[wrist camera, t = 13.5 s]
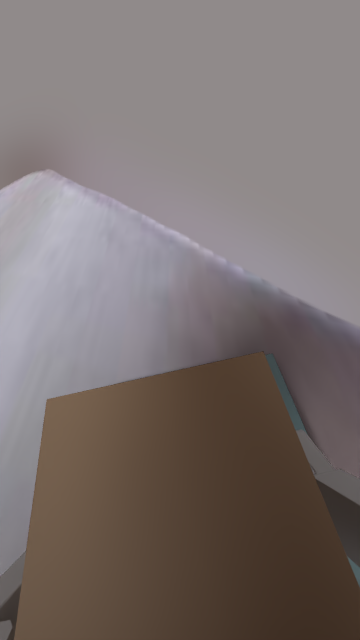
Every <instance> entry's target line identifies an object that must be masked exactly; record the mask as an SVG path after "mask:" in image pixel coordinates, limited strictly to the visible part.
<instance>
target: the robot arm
mask: <svg viewBox="0 0 360 640" xmlns="http://www.w3.org/2000/svg"><path fill="white" fill-rule="evenodd" d="M296 433H297V435H298V437H299V440H300V442H301V445H302V447H303V450H304V452H305V455H306V457H307V460H308V462H309V464H310V467H311V469H312V472H313V474H314V477H315V479H316V482H317V484H318V487H319V489H320V491H321V494H322V496H323V499H324V501H325V504H326V506H327V509H328V511H329V513H330V516H331V518H332V521H333V523H334V526H335V528H336V531H337V533H338V536H339V538H340V540H341V543H342V545H343V548H344V550H345V553H346V555H347V557H348V558H350V559H351V560H352V561H353V562H354V563H355V564H356V565H357V566H359V567H360V479H359V478H357V477H355V476H353V475H351V474H349V473H347V472H345V471H344V470H342V469H339V470H335V468H334V467H333V466H332V465H331V464H330V462H329V461H328V460H327V459H326V457H325V456H324V455H323V454H322V452H321V451H320V450H319V449H318V447H317V446H316V445H315V444H314V442H313V441H312V440H311V439H310V437H309V436H308V435H307V434H306V432H305V431H303V430H302V429H301V430H297V431H296ZM25 556H26V552H25V553H24V554H23V555H22V556H21V557H20V558H19V559H18V560H17V561H16V562H15V563H14V564H13V565H12V566H11V567H10V568H9V569H8V570H7V571H6V572H5V573H4V574H3V575H2V576H1V577H0V640H14V636H15V629H16V622H17V614H18V607H19V600H20V592H21V585H22V578H23V570H24V563H25Z"/></svg>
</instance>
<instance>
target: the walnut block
mask: <svg viewBox="0 0 360 640" xmlns="http://www.w3.org/2000/svg"><path fill="white" fill-rule="evenodd" d="M14 640H360V587H359V585H358V582H357V580H356V577H355V575H354V572H353V570H352V567H351V565H350V563H349V560H348V558H347V555H346V553H345V550H344V548H343V545H342V543H341V540H340V538H339V536H338V533H337V531H336V528H335V526H334V523H333V521H332V518H331V516H330V513H329V511H328V509H327V506H326V504H325V501H324V499H323V496H322V494H321V491H320V489H319V487H318V484H317V482H316V479H315V477H314V474H313V472H312V469H311V467H310V464H309V462H308V460H307V457H306V455H305V452H304V450H303V447H302V445H301V442H300V440H299V437H298V435H297V433H296V430H295V428H294V425H293V423H292V420H291V418H290V415H289V413H288V411H287V408H286V406H285V403H284V401H283V398H282V396H281V393H280V391H279V388H278V386H277V384H276V381H275V379H274V376H273V374H272V371H271V369H270V366H269V364H268V361H267V359H266V357H265V354H264V352H263V351H262V352H258V353H253V354H249V355H244V356H240V357H235V358H231V359H226V360H222V361H217V362H213V363H208V364H204V365H199V366H195V367H190V368H186V369H182V370H177V371H173V372H168V373H164V374H159V375H155V376H150V377H146V378H141V379H137V380H132V381H128V382H123V383H119V384H114V385H110V386H105V387H101V388H96V389H92V390H87V391H83V392H78V393H74V394H69V395H65V396H60V397H56V398H51V399H47V402H46V409H45V416H44V424H43V431H42V438H41V446H40V453H39V460H38V468H37V475H36V482H35V490H34V497H33V504H32V512H31V519H30V526H29V534H28V541H27V548H26V556H25V563H24V570H23V578H22V585H21V592H20V600H19V607H18V614H17V622H16V629H15V636H14Z"/></svg>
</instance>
